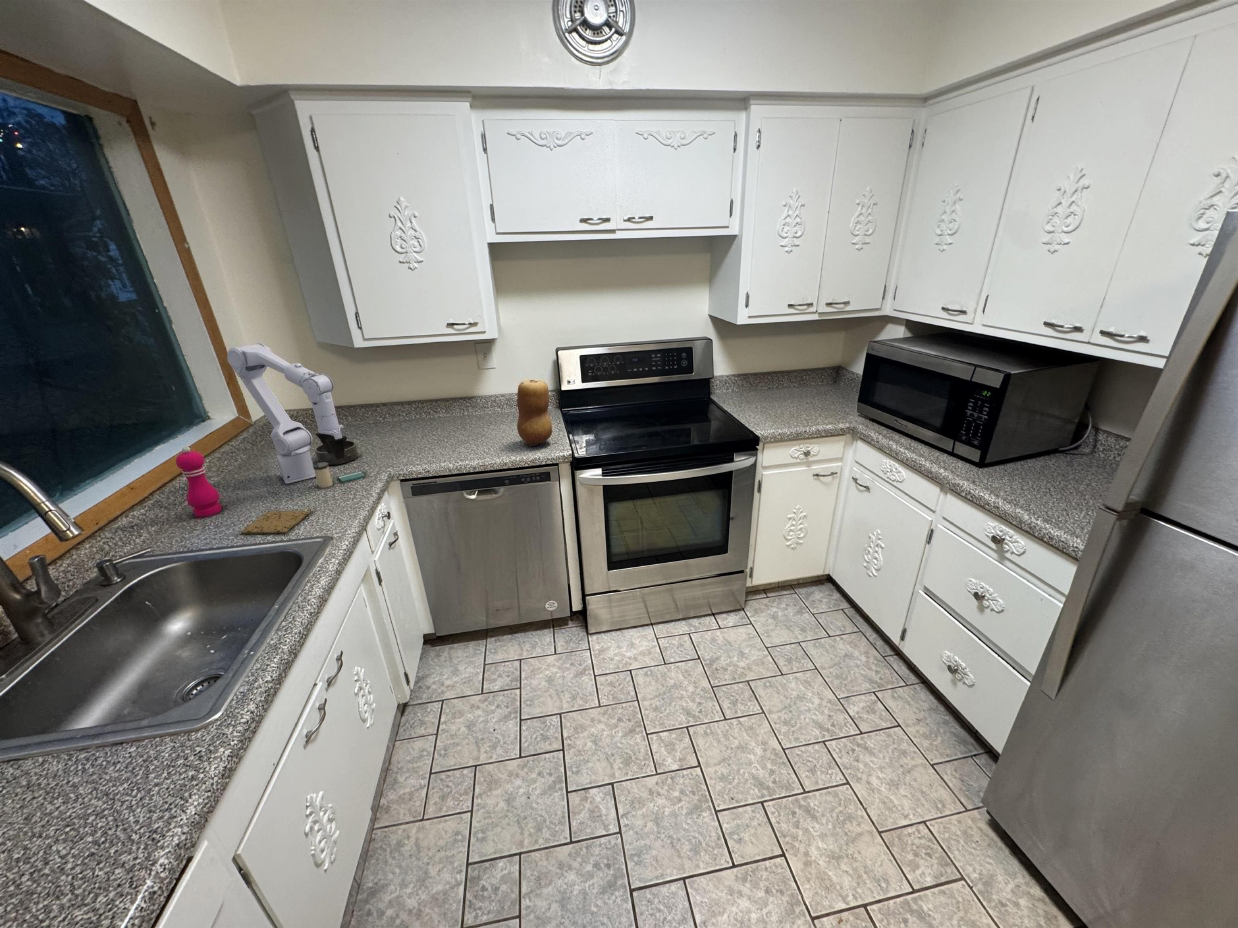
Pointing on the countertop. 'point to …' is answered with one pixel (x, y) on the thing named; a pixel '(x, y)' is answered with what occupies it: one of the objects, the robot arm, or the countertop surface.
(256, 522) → the brown square cork trivet
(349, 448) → the dark round bowl
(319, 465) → the spice jar
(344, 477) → the teal rectangular slab
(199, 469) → the pepper mill
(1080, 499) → the countertop surface
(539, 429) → the butternut squash
